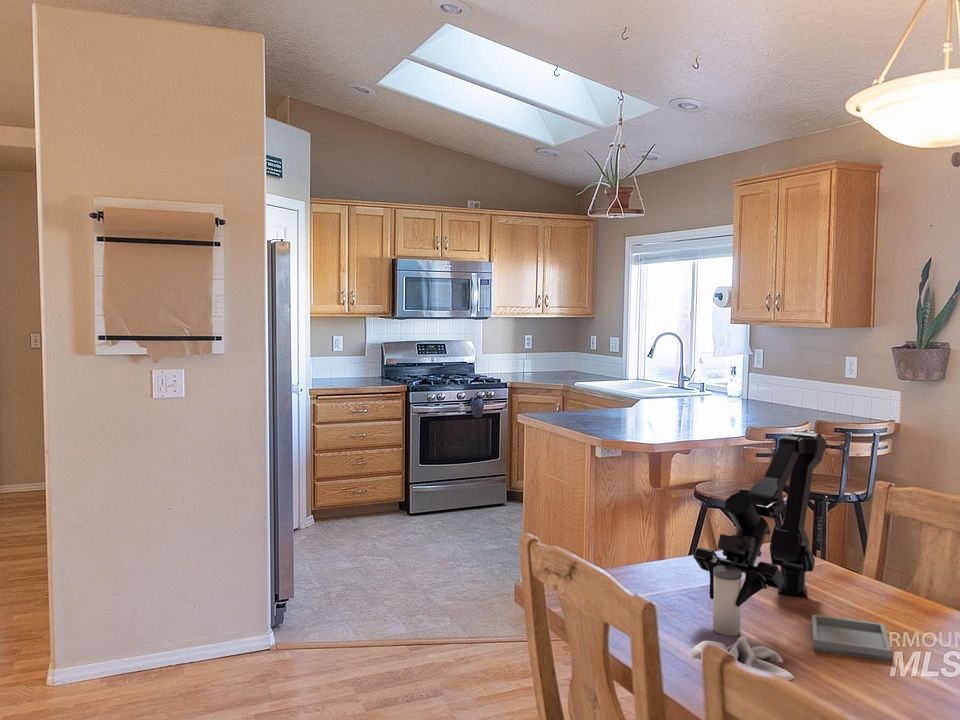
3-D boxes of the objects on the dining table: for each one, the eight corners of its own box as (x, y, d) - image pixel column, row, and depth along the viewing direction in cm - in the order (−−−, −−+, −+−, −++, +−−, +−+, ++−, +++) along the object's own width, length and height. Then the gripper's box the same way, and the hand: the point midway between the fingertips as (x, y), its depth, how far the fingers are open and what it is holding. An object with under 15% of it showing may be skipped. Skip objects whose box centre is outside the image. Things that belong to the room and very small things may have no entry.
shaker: (713, 623, 170) (714, 564, 169) (741, 627, 168) (742, 567, 167) (711, 633, 164) (712, 572, 164) (739, 637, 162) (740, 575, 161)
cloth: (681, 644, 160) (681, 615, 160) (772, 646, 159) (773, 617, 159) (704, 697, 138) (705, 663, 138) (811, 700, 137) (811, 666, 137)
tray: (811, 624, 169) (812, 614, 169) (883, 634, 164) (884, 623, 163) (813, 650, 156) (813, 639, 156) (891, 661, 151) (891, 650, 150)
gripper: (697, 511, 174) (671, 571, 167) (779, 527, 161) (754, 593, 154) (714, 538, 180) (689, 597, 173) (794, 556, 167) (770, 621, 160)
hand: (723, 601), depth 165 cm, fingers closed on shaker, 6 cm apart
